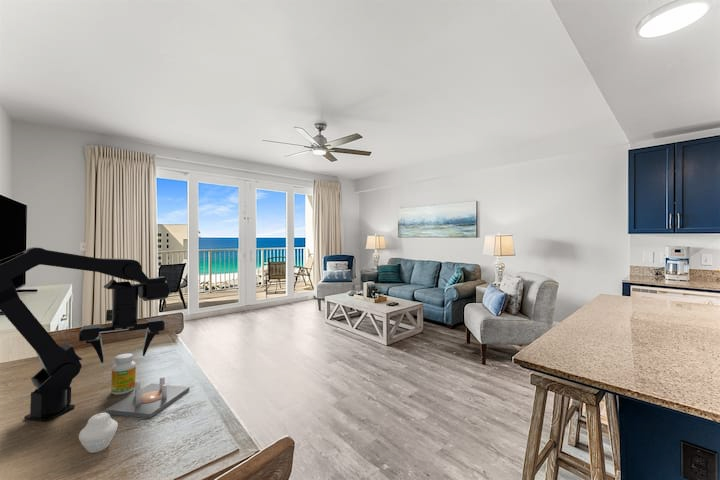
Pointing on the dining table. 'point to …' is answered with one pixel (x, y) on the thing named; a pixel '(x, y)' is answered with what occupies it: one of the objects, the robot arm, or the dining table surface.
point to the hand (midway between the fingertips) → (123, 358)
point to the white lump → (98, 432)
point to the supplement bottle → (123, 374)
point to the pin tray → (148, 400)
